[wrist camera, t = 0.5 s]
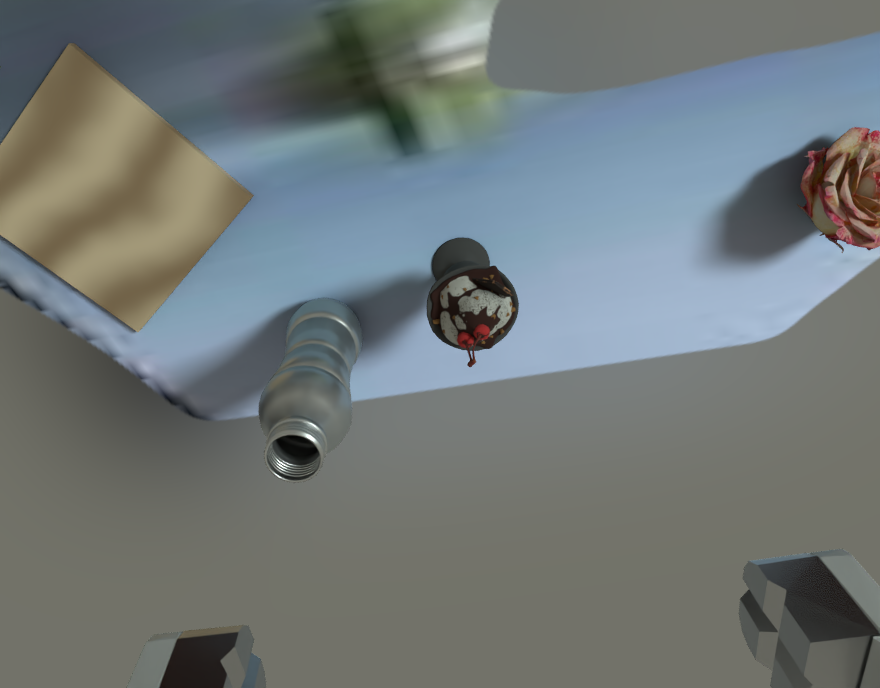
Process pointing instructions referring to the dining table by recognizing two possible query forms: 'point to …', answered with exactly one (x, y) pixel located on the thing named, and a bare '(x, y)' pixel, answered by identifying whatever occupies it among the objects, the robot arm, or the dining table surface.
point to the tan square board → (110, 191)
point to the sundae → (469, 298)
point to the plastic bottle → (310, 390)
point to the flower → (846, 189)
